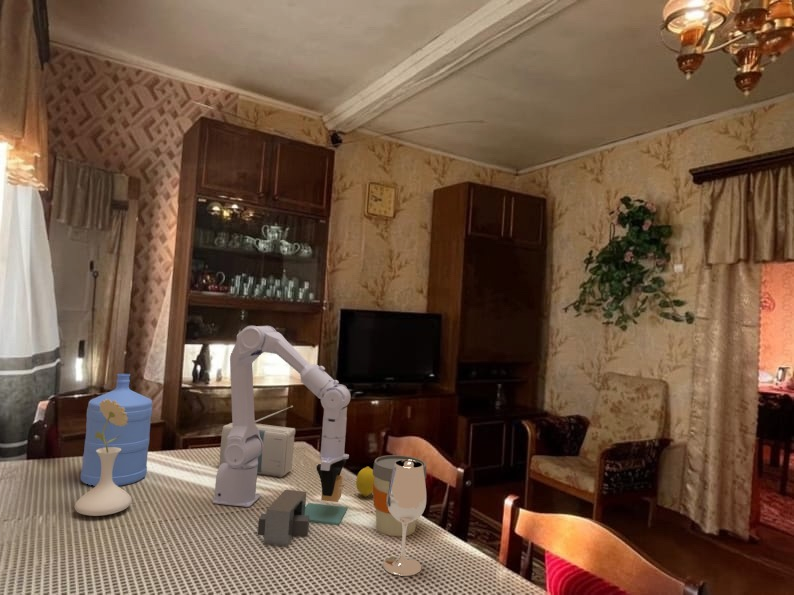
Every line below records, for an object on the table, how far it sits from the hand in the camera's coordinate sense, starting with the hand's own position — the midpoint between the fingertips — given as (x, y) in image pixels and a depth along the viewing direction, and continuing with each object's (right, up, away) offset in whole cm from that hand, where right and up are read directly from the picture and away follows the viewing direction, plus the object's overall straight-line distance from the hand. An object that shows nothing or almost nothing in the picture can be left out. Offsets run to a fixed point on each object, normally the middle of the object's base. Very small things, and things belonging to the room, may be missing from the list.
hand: (329, 492), depth 123 cm
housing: (-8, -4, -12) cm, 15 cm away
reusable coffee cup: (+16, -6, -6) cm, 18 cm away
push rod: (-8, -4, -12) cm, 16 cm away
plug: (0, -2, 0) cm, 1 cm away
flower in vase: (-51, -2, -7) cm, 52 cm away
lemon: (+8, -6, +13) cm, 17 cm away
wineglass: (+17, -6, -24) cm, 30 cm away
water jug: (-60, -2, +14) cm, 62 cm away
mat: (-1, -5, -1) cm, 5 cm away
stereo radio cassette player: (-26, -5, +28) cm, 39 cm away
